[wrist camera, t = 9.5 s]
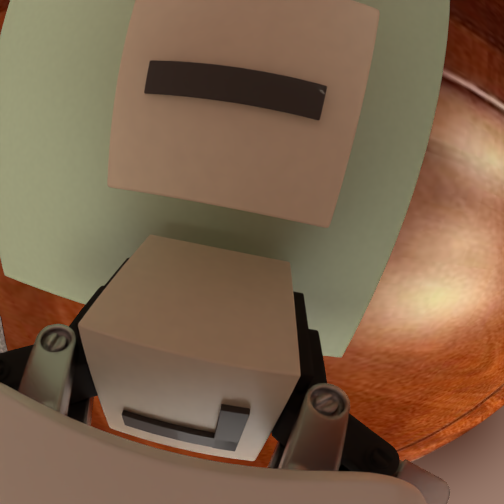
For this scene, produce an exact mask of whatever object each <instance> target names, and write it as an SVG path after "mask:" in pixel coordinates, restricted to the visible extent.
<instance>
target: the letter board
mask: <svg viewBox="0 0 504 504" xmlns="http://www.w3.org/2000/svg"><path fill="white" fill-rule="evenodd" d="M353 1H356V2H359V3H362V4H365V5H368V6H370V7H373V8H376V9H378V10H379V12H380V15H379V22H378V28H377V34H376V39H375V45H374V50H373V56H372V61H371V66H370V71H369V76H368V81H367V85H366V90H365V95H364V99H363V104H362V108H361V112H360V117H359V121H358V125H357V129H356V133H355V137H354V141H353V145H352V149H351V153H350V157H349V160H348V164H347V168H346V171H345V175H344V179H343V182H342V186H341V189H340V193H339V196H338V200H337V203H336V207H335V210H334V213H333V217H332V220H331V223H330V226H329V227H328V228H323V227H318V226H314V225H309V224H305V223H300V222H296V221H291V220H286V219H281V218H277V217H272V216H267V215H262V214H257V213H252V212H247V211H242V210H237V209H232V208H227V207H222V206H216V205H211V204H206V203H200V202H195V201H189V200H183V199H178V198H172V197H166V196H160V195H154V194H148V193H142V192H136V191H130V190H123V189H117V188H110V187H108V185H107V179H108V159H109V145H110V133H111V123H112V114H113V106H114V99H115V92H116V85H117V79H118V73H119V68H120V62H121V57H122V52H123V48H124V43H125V39H126V34H127V30H128V26H129V22H130V18H131V14H132V11H133V7H134V4H135V0H10V3H9V6H8V10H7V13H6V16H5V20H4V24H3V27H2V31H1V35H0V258H1V262H2V266H3V270H4V274H5V276H8V277H10V278H13V279H15V280H18V281H20V282H23V283H26V284H28V285H31V286H33V287H36V288H39V289H42V290H44V291H47V292H50V293H53V294H56V295H58V296H61V297H64V298H67V299H70V300H73V301H76V302H79V303H83V304H87V302H88V301H89V300H90V298H91V297H92V296H93V295H94V293H95V292H96V291H97V290H98V288H100V287H101V286H105V284H106V283H107V282H108V281H109V279H110V278H111V277H112V276H113V274H114V273H115V272H116V271H117V270H118V268H119V267H120V266H121V265H122V264H123V262H124V261H125V260H126V259H127V258H130V257H131V256H132V255H133V254H134V252H135V251H136V250H137V249H138V248H139V247H140V245H141V244H142V243H143V242H144V241H145V240H146V238H147V237H148V236H149V235H156V236H161V237H166V238H171V239H176V240H181V241H186V242H191V243H196V244H201V245H206V246H211V247H216V248H221V249H226V250H231V251H236V252H241V253H246V254H251V255H256V256H261V257H266V258H271V259H277V260H282V261H287V262H290V267H291V276H292V285H293V291H294V292H300V293H303V294H304V300H305V307H306V314H307V321H308V328H309V329H313V330H317V331H318V332H319V336H320V342H321V348H322V354H323V355H324V356H333V357H342V355H343V354H344V352H345V350H346V348H347V346H348V344H349V342H350V341H351V339H352V337H353V335H354V333H355V331H356V329H357V327H358V325H359V323H360V321H361V319H362V317H363V315H364V313H365V311H366V309H367V307H368V305H369V302H370V300H371V298H372V296H373V294H374V292H375V289H376V287H377V285H378V283H379V281H380V278H381V276H382V274H383V271H384V269H385V267H386V264H387V262H388V259H389V257H390V255H391V252H392V250H393V247H394V245H395V242H396V239H397V237H398V234H399V232H400V229H401V226H402V224H403V221H404V218H405V215H406V212H407V209H408V207H409V204H410V201H411V198H412V195H413V192H414V189H415V185H416V182H417V179H418V176H419V172H420V169H421V166H422V162H423V159H424V155H425V151H426V148H427V144H428V140H429V136H430V132H431V128H432V124H433V119H434V115H435V110H436V106H437V101H438V96H439V91H440V85H441V79H442V73H443V67H444V60H445V53H446V45H447V35H448V25H449V11H450V0H353Z"/></svg>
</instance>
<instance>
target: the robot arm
mask: <svg viewBox="0 0 504 504" xmlns="http://www.w3.org/2000/svg"><path fill="white" fill-rule="evenodd" d="M128 260H129V258H127V259H126V260H125V261H124V262H123V264H122V265H121V266H120V267H119V268H118V270H117V271H116V272H115V273H114V274H113V276H112V277H111V278H110V279H109V281H108V282H107V283H106V284H105V286H101V287H100V288H98V290H97V291H96V292H95V293H94V295H93V296H92V297H91V298H90V300H89V301H88V302H87V304H86V305H85V306H84V307H83V309H82V310H81V311H80V313H79V314H78V315H77V316H76V318H75V319H74V320H73V322H72V323H71V324H70V326H69V327H68V326H66V325H62V324H54V325H49V326H47V327H45V328H44V329H42V330H41V331H40V332H39V334H38V336H37V338H36V340H35V343H34V345H30V346H27V347H23V348H19V349H15V350H11V351H7V352H3V353H0V504H447V502H448V499H449V495H450V489H449V486H448V484H447V483H446V482H445V481H444V480H442V479H441V478H439V477H437V476H435V475H433V474H431V473H430V472H428V471H426V470H424V469H422V468H420V467H418V466H417V465H415V464H413V463H411V462H410V461H408V460H406V459H405V460H404V461H401V460H399V455H398V453H397V451H396V450H395V448H394V447H393V446H391V445H390V444H389V443H388V442H386V441H385V440H384V439H382V438H381V437H379V436H378V435H377V434H375V433H374V432H373V431H371V430H370V429H369V428H368V427H366V426H365V425H364V424H362V423H361V422H360V421H358V420H357V419H356V418H355V417H353V416H352V415H351V414H349V411H350V401H349V399H348V396H347V395H346V394H345V392H344V391H343V390H341V389H340V388H339V387H337V386H334V385H332V384H327V380H326V373H325V367H324V361H323V354H322V348H321V342H320V336H319V332H318V331H317V330H313V329H309V328H308V321H307V314H306V307H305V300H304V294H303V293H300V292H294V291H293V295H294V305H295V315H296V326H297V337H298V349H299V361H300V374H301V376H300V378H299V380H298V382H297V384H296V386H295V388H294V390H293V392H292V394H291V396H290V397H289V399H288V401H287V403H286V405H285V407H284V409H283V411H282V413H281V415H280V417H279V418H278V420H277V422H276V424H275V426H274V428H273V429H272V431H271V432H272V436H273V437H274V438H275V439H276V440H278V442H277V444H276V447H275V450H274V452H273V455H272V457H271V460H270V462H269V465H268V467H267V468H261V467H251V466H243V465H236V464H229V463H222V462H216V461H211V460H205V459H200V458H195V457H191V456H186V455H181V454H177V453H173V452H169V451H165V450H161V449H157V448H154V447H150V446H147V445H143V444H140V443H137V442H134V441H130V440H127V439H124V438H121V437H118V436H116V435H113V434H110V433H107V432H104V431H102V430H99V429H96V428H94V427H91V418H92V408H93V400H94V396H97V395H98V394H97V391H96V388H95V385H94V382H93V379H92V376H91V373H90V369H89V366H88V363H87V359H86V356H85V352H84V348H83V344H82V340H81V336H80V332H79V328H78V323H79V322H80V321H81V319H82V318H83V317H84V315H85V314H86V313H87V311H88V310H89V309H90V307H91V306H92V305H93V303H94V302H95V301H96V299H97V298H98V297H99V296H100V294H101V293H102V292H103V290H104V289H105V288H106V287H107V285H108V284H109V283H110V282H111V280H112V279H113V278H114V277H115V275H116V274H117V273H118V272H119V270H120V269H121V268H122V267H123V266H124V264H125V263H126V262H127V261H128Z"/></svg>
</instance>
